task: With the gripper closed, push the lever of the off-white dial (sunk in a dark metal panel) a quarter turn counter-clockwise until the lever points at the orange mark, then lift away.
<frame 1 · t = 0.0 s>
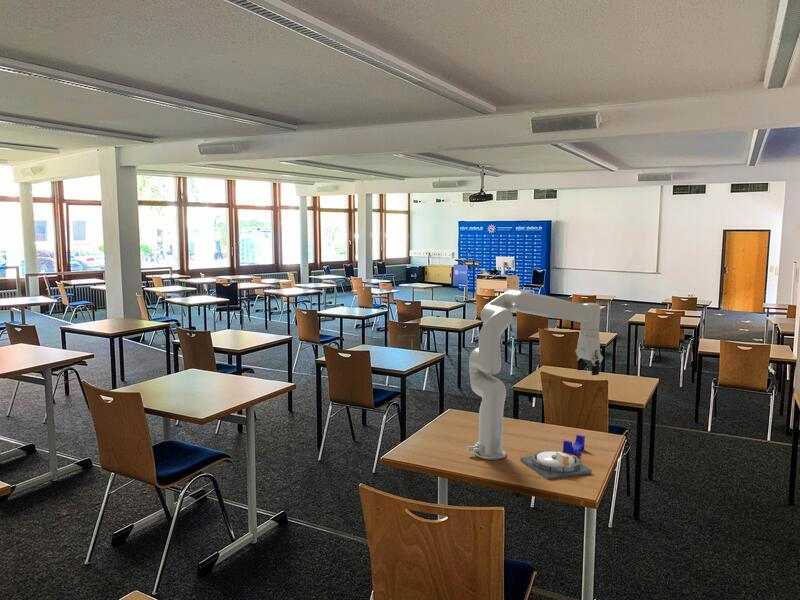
hand: (587, 372, 247), 31 cm above the table, tool pointing down, fingers open, 9 cm apart
dial: (555, 456, 223), point 4 cm above the table, hinge at -90.0°
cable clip: (575, 453, 239), on the table
panel: (555, 467, 223), on the table
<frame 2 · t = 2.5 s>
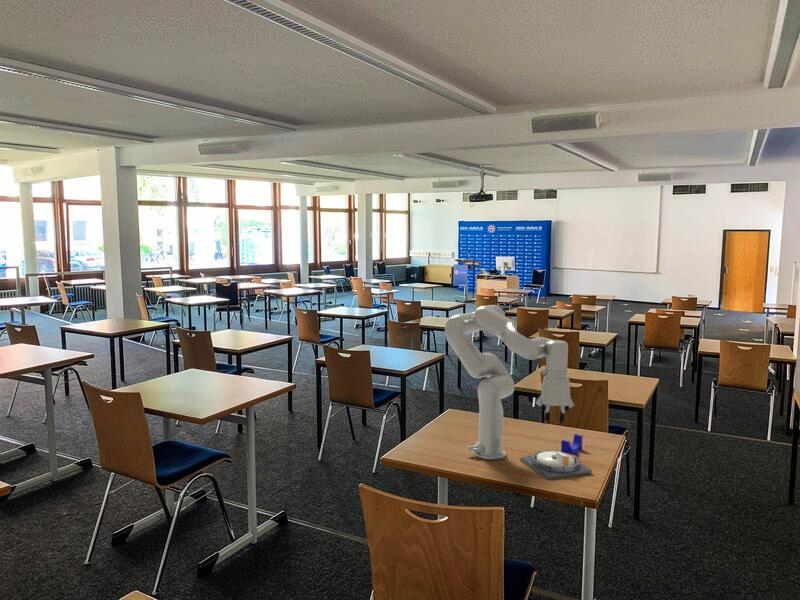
hand: (554, 422, 216), 19 cm above the table, tool pointing down, fingers open, 3 cm apart
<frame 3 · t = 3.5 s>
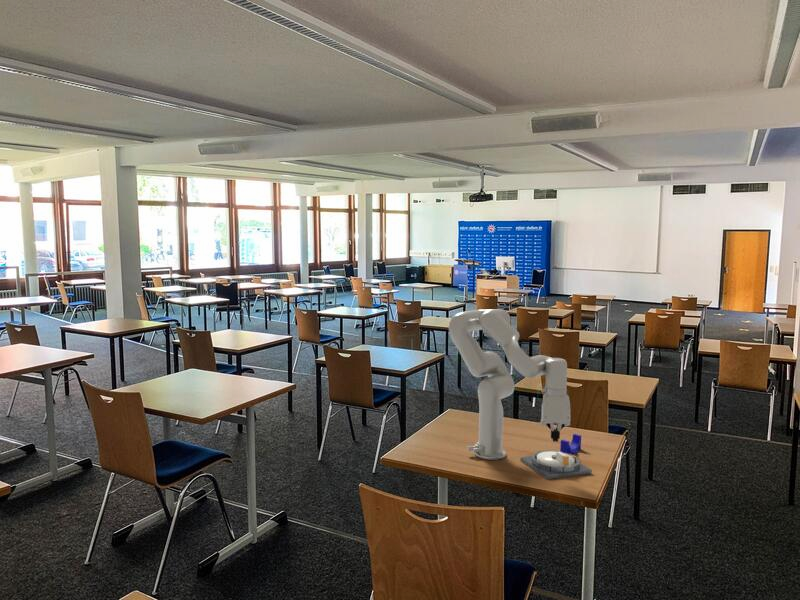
hand: (555, 440, 216), 12 cm above the table, tool pointing down, fingers closed
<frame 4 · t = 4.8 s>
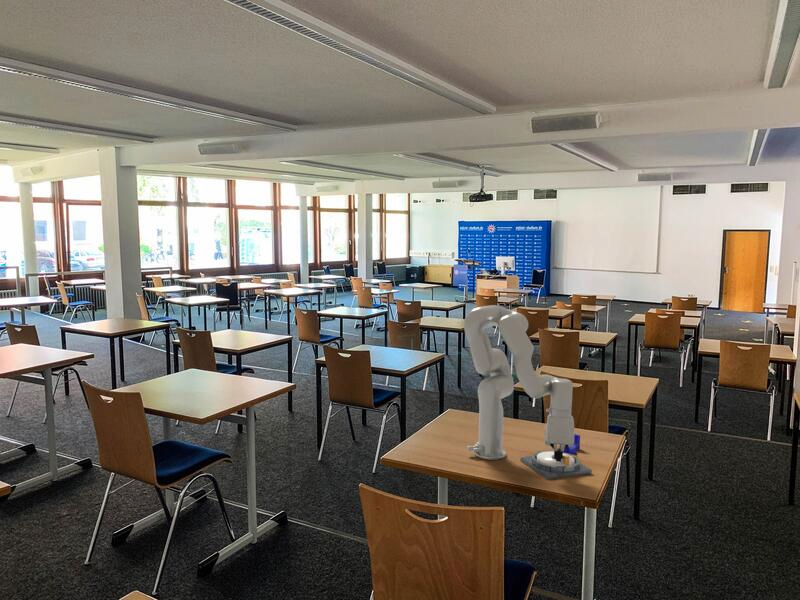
hand: (558, 460, 217), 5 cm above the table, tool pointing down, fingers closed
dial: (555, 456, 223), point 4 cm above the table, hinge at -87.8°, touching gripper
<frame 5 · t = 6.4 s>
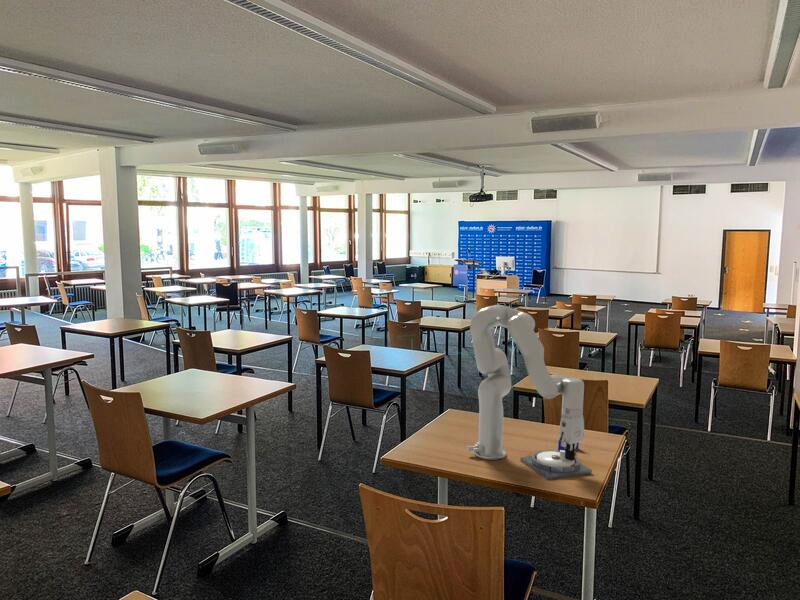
hand: (569, 459, 219), 5 cm above the table, tool pointing down, fingers closed
dial: (555, 456, 223), point 4 cm above the table, hinge at -32.3°, touching gripper
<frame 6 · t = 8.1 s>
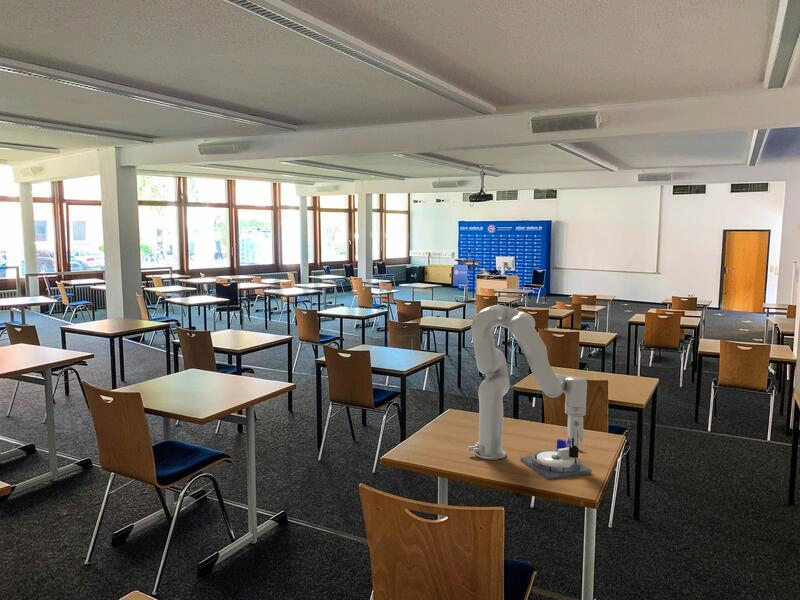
hand: (573, 456, 221), 5 cm above the table, tool pointing down, fingers closed
dial: (555, 456, 223), point 4 cm above the table, hinge at 6.5°
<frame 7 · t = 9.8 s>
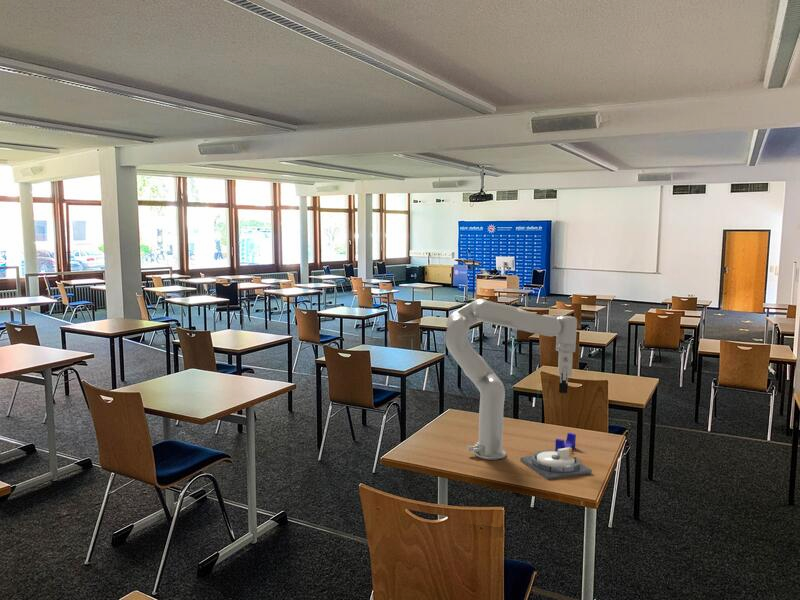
hand: (563, 392, 233), 26 cm above the table, tool pointing down, fingers closed
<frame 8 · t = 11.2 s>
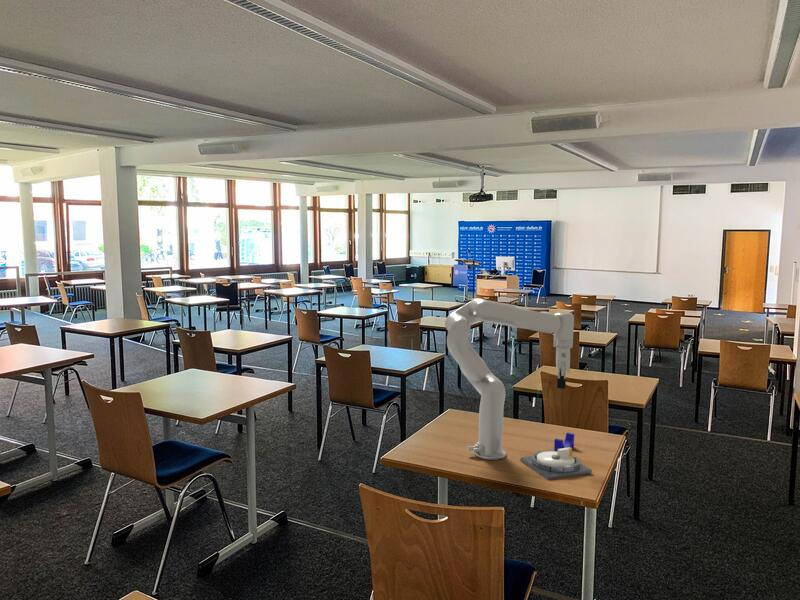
hand: (561, 387, 236), 27 cm above the table, tool pointing down, fingers closed
at the end: dial at +6° (first picture: -90°) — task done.
